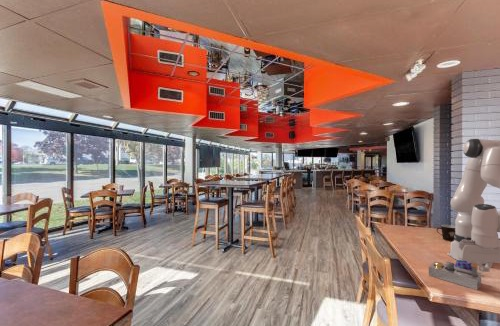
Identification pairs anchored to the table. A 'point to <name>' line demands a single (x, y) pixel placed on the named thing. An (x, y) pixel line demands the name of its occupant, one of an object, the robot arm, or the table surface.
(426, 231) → the table surface
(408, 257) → the table surface
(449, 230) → the coffee mug
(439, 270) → the panel
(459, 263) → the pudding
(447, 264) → the button slate
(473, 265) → the slider
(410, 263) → the table surface
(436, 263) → the button brass
